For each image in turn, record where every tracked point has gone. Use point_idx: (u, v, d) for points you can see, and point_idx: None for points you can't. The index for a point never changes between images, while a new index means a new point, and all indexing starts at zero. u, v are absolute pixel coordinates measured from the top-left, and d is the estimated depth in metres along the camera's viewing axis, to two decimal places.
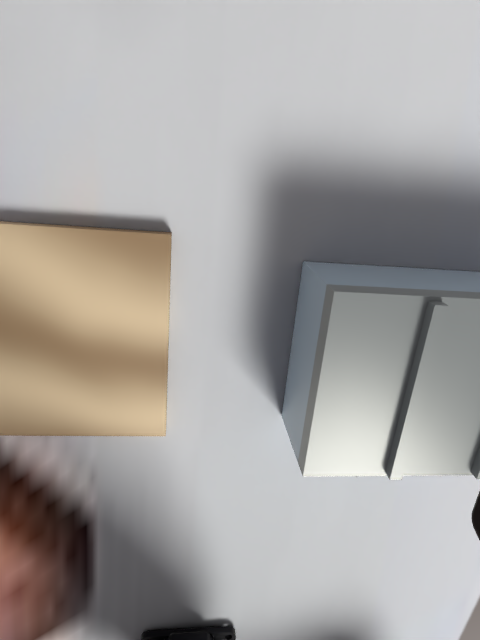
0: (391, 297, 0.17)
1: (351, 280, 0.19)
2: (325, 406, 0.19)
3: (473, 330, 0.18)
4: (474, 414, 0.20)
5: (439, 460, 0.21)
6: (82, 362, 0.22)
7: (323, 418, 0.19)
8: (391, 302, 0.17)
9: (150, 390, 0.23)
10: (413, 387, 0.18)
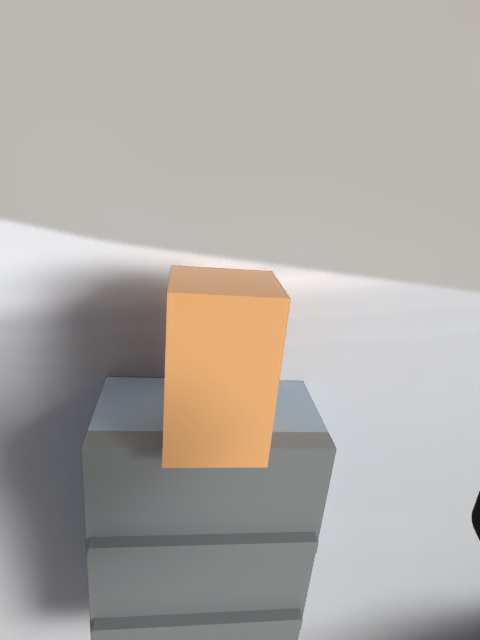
0: None
1: None
2: None
3: (124, 586, 0.17)
4: (230, 559, 0.17)
5: (290, 575, 0.18)
6: None
7: None
8: None
9: None
10: (185, 635, 0.18)
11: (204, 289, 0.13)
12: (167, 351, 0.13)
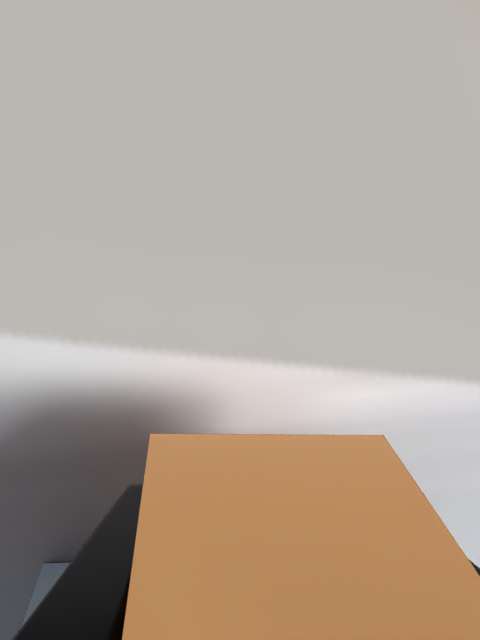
0: None
1: None
2: None
3: None
4: None
5: None
6: None
7: None
8: None
9: None
10: None
11: (243, 608, 0.04)
12: None
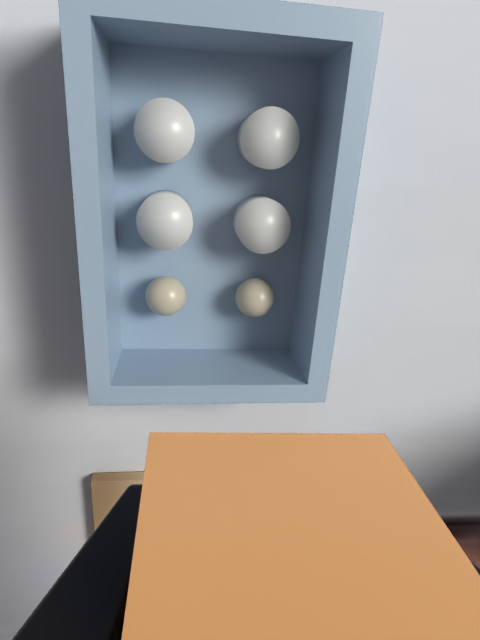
0: None
1: None
2: None
3: None
4: None
5: None
6: None
7: None
8: None
9: None
10: None
11: (243, 612, 0.04)
12: None
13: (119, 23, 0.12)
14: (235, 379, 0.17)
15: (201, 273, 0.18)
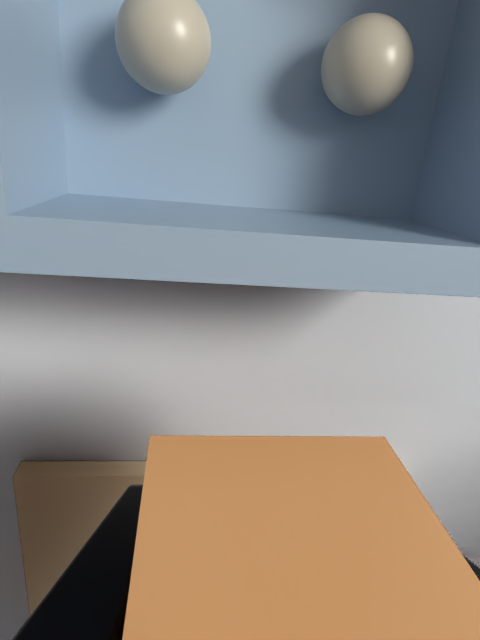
0: None
1: None
2: None
3: None
4: None
5: None
6: None
7: None
8: None
9: None
10: None
11: (243, 618, 0.04)
12: None
13: None
14: (329, 233, 0.07)
15: (245, 15, 0.08)
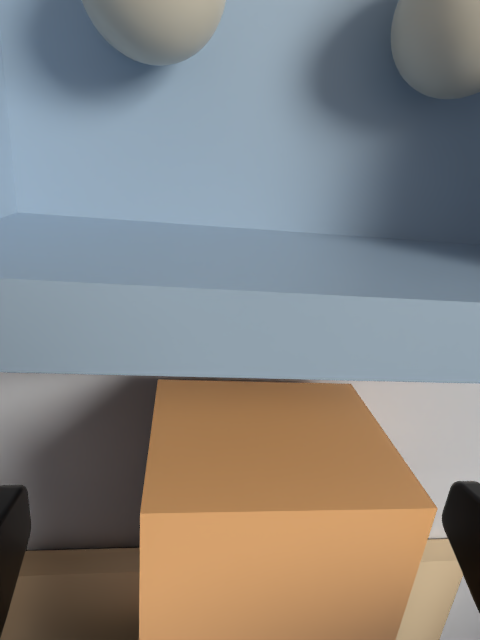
0: None
1: None
2: None
3: None
4: None
5: None
6: None
7: None
8: None
9: None
10: None
11: (230, 487, 0.05)
12: (143, 626, 0.05)
13: None
14: (423, 286, 0.04)
15: None
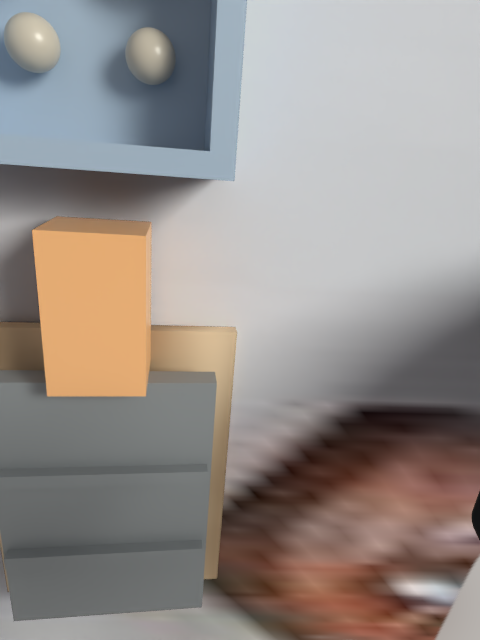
0: (11, 585, 0.20)
1: None
2: (125, 606, 0.21)
3: (32, 517, 0.19)
4: (130, 491, 0.19)
5: (188, 507, 0.20)
6: None
7: (138, 605, 0.22)
8: (16, 584, 0.20)
9: (170, 348, 0.19)
10: (93, 564, 0.20)
11: (69, 229, 0.14)
12: (38, 285, 0.14)
13: None
14: None
15: (84, 28, 0.14)
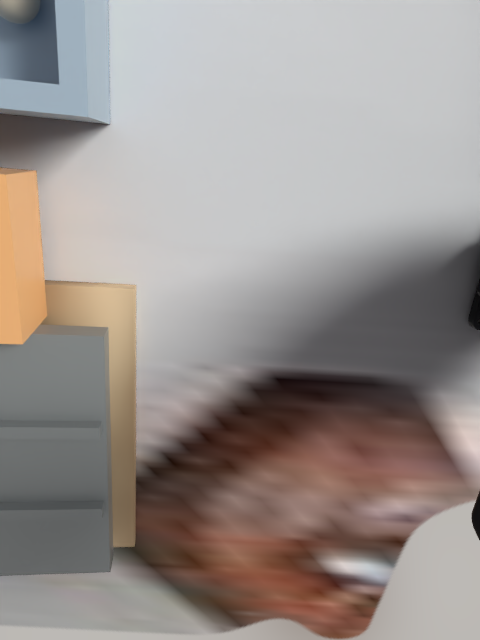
0: None
1: None
2: (30, 567, 0.21)
3: None
4: (24, 447, 0.19)
5: (87, 466, 0.20)
6: None
7: (43, 567, 0.21)
8: None
9: (66, 304, 0.19)
10: None
11: None
12: None
13: None
14: None
15: None
